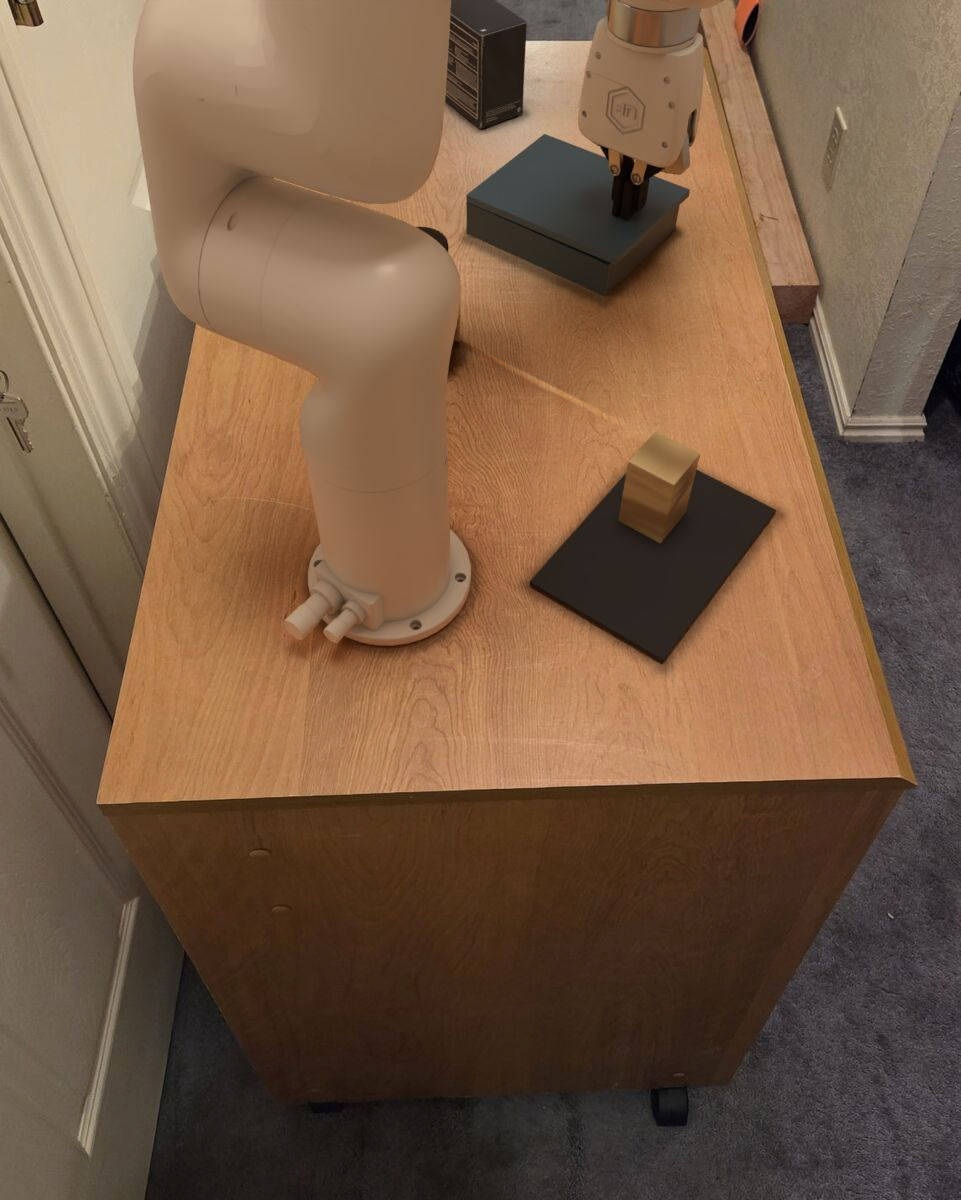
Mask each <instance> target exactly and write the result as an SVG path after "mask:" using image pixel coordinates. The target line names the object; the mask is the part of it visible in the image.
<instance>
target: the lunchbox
mask: <svg viewBox="0 0 961 1200" xmlns="http://www.w3.org/2000/svg"><path fill="white" fill-rule="evenodd" d="M680 205H681V204H680ZM680 205H679V206H678V207H677V208H676V209H675V210H674V211H673V212H672V213H671V214H670V215H669V216H668V217H666V218H665V219H664V220H663V221H662V222H661V223H660V224H659V225H658V226H657V227H656V228H655V229H654V230H653V231H652V232H651V233H649V234H648V235H647V236H646V237H645V238H644V239H643V240H642V241H641V242H640V243H639V244H638V245H637V246H636V247H635V248H634V249H632V250H631V251H630V252H629V253H628V254H627V255H626V256H625V257H624V258H623V259H622V260H621V261H620V262H619V263H618V264H617V265H614V264H612V263H610V262H607V261H605V260H602V259H600V258H598V257H595V256H593V255H591V254H588V253H586V252H584V251H581V250H579V249H577V248H574V247H572V246H570V245H567V244H565V243H562V242H560V241H558V240H555V239H553V238H551V237H548V236H546V235H544V234H541V233H539V232H537V231H534V230H532V229H530V228H527V227H525V226H522V225H520V224H518V223H515V222H513V221H511V220H508V219H506V218H504V217H501V216H499V215H497V214H494V213H492V212H490V211H487V210H485V209H482V208H480V207H478V206H475V205H473V204H471V203H468V202H467V201H466V209H465V210H466V234H467V235H469V236H471V237H473V238H476V239H477V240H480V241H482V242H484V243H486V244H489V245H491V246H493V247H495V248H498V249H500V250H502V251H503V252H506V253H508V254H510V255H513V256H515V257H517V258H519V259H521V260H524V261H526V262H528V263H531V264H532V265H535V266H537V267H539V268H541V269H544V270H545V271H548V272H550V273H552V274H554V275H556V276H559V277H561V278H562V279H565V280H568V281H570V282H572V283H574V284H576V285H579V286H581V287H583V288H584V289H587V290H589V291H591V292H594V293H596V294H598V295H600V296H603V297H605V296H607V295H608V293H610V292H611V291H612V289H614V288H615V287H616V286H617V285H618V284H619V283H620V282H621V281H622V280H623V279H624V278H625V277H626V276H627V275H628V274H629V273H630V272H631V271H633V269H635V268H636V267H637V266H638V264H640V263H641V262H642V261H643V260H644V259H645V258H646V257H647V256H648V255H649V254H650V253H651V252H652V251H653V250H654V249H655V248H657V247H658V245H660V243H662V242H663V241H664V240H665V239H666V238H667V237H668V236H669V235H670V234H671V233H673V231H674V230H675V229H676V228H677V223H678V217H679V211H680Z"/></svg>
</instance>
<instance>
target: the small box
mask: <svg viewBox="0 0 961 1200" xmlns="http://www.w3.org/2000/svg"><path fill="white" fill-rule="evenodd" d="M527 27H528V22H527V20H525V19H523V18H522V17H521V16H519V15H518V14H516V13H515V12H513V11H511V9H509V8H507V7H506V6H504V5H503V4H502V3H500V2H499V1H497V0H451V13H450V30H449V47H448V63H447V79H446V95H445V103H447V104H448V105H450V106H451V107H452V108H454V109H455V110H456V111H457V112H459V113H460V114H461V115H462V116H464V117H465V118H466V119H468V121H470V122H471V123H472V124H473V125H474V126H476V127H477V128H478V129H484V128H487V127H489V126H491V125H495V124H498V123H501V122H502V121H506V120H510V119H512V118H515V117H518V116H521V115H522V114H523V112H524V91H525V90H524V87H525V69H526V67H525V66H526V46H527V45H526V44H527Z"/></svg>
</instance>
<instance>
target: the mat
mask: <svg viewBox="0 0 961 1200" xmlns="http://www.w3.org/2000/svg"><path fill="white" fill-rule="evenodd" d="M626 473H627V471H626V472H625V473H624V475H623V476H622V477H621V478H620V479H619V480H618V481H617V482H616V484H615V485H614V486H613V487H612V488H611V489H610V490H609V492H608V493H607V494H605V496H604V497H603V498H602V499H601V500H600V502H599V503H598V504H597V505H596V506H595V507H594V508H593V509H592V511H591V512H590V513H589V514H588V515H587V516H586V517H585V519H583V521H582V522H581V523H580V524H579V525H578V527H577V528H576V529H574V531H573V532H572V533H571V534H570V536H569V537H567V538H566V540H565V541H564V542H563V543H562V544H561V546H560V547H558V549H557V550H556V551H555V552H554V553H553V554H552V555H551V556H550V558H549V559H548V560H547V562H545V563H544V565H543V566H542V567H541V568H540V569H539V571H537V573H536V574H534V576H533V577H532V578H531V579H530V580H529V587H531V588H532V589H534V590H536V591H537V592H539V593H541V594H542V595H544V596H546V597H547V598H549V599H551V600H552V601H554V602H556V603H557V604H559V605H561V606H562V607H564V608H566V609H568V610H570V611H572V612H573V613H575V614H577V615H578V616H580V617H582V618H583V619H585V620H586V621H588V622H590V623H593V625H596V626H597V627H599V628H600V629H602V630H604V631H605V632H607V633H609V634H610V635H613V636H614V637H616V638H618V639H619V640H621V641H622V642H624V643H626V644H628V645H629V646H631V647H632V648H634V649H636V650H637V651H640V652H641V653H642V654H645V655H646V656H648V657H649V658H651V659H653V660H655V661H656V662H658V663H660V664H664V663H665V661H666V660H667V659H668V657H669V656H670V654H671V653H672V652H673V651H674V649H675V648H676V646H677V645H678V644H679V643H680V642H681V640H682V639H683V637H684V636H685V635H686V633H687V632H688V631H689V629H690V628H691V627H692V626H693V624H694V623H695V621H696V620H697V619H698V617H699V616H700V615H701V613H702V612H703V611H704V609H705V608H706V607H707V606H708V604H709V603H710V601H711V600H712V598H714V596H715V595H716V593H717V592H718V590H719V589H720V588H721V587H722V585H723V584H724V583H725V581H726V580H727V579H728V577H729V576H730V575H731V574H732V572H733V571H734V569H735V568H736V567H737V565H738V564H739V563H740V561H741V560H742V559H743V558H744V556H745V554H746V553H748V551H749V550H750V548H751V547H752V545H753V544H754V543H755V541H756V540H757V539H758V538H759V536H760V535H761V534H762V532H764V529H765V528H766V527H767V526H768V525H769V523H770V521H771V520H772V519H773V518H774V516H775V515H776V512H777V509H776V508H773V507H771V506H770V505H767V504H765V503H764V502H762V501H760V500H758V499H756V498H754V497H752V496H750V495H748V494H746V493H744V492H742V491H740V490H738V489H736V488H734V487H732V486H730V485H729V484H727V483H724V482H722V481H720V480H718V479H716V478H715V477H712V476H710V475H709V474H706V473H705V472H703V471H701V470H698V468H697V469H696V473H695V477H694V481H693V485H692V489H691V493H690V497H689V501H688V505H687V509H686V513H685V514H684V515H683V517H682V518H681V519H680V520H679V522H678V523H677V524H676V525H675V526H674V528H673V529H672V530H671V531H670V533H669V534H668V535H667V536H666V537H665V539H664V540H663V541H662V542H661V543H658V542H657V541H655V540H653V539H651V538H649V537H647V536H645V535H644V534H642V533H640V532H638V531H636V530H634V529H633V528H631V527H629V526H627V525H625V524H623V523H621V522H620V521H618V519H619V513H620V508H621V502H622V496H623V490H624V485H625V479H626Z"/></svg>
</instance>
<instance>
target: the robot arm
mask: <svg viewBox="0 0 961 1200" xmlns="http://www.w3.org/2000/svg"><path fill="white" fill-rule="evenodd" d="M603 1H604V3H606V11H605V16H603V17H602V18H601V19H599V20H598V22H597V25H596V28H595V31H594V34H593V38H592V41H591V44H590V48H589V51H588V52H589V53H588V55H587V60H586V65H585V68H584V75H583V80H582V86H581V93H580V99H579V104H578V105H579V106H578V116H577V127H578V130H579V132H580V134H581V135H582V136H584V138H586V139H587V140H588V141H590V142H591V143H593V144H594V145H595V146H597V147H600V150H601V151H602V153H603V155H604V157H606V158H607V160H608V162H609V171H610V173H611V174H612V175H613V176H614V178H613V186H612V195H611V200H613V207H612V215H614V216H616V217H618V216H620V217H621V219H623V220H625V221H627V220H628V219H629V218H630V217H632V216H633V215H634V214H635V213H636V212H637V211H640V210H641V209H643V207H644V206H645V204H646V200H647V194H648V187H649V181H650V177H652V176H656V175H658V174H660V172H662V173H664V174H669V175H677V176H679V175H682V174H684V173H685V172H686V171H687V170H688V169H689V168H690V166H691V156H690V155H691V154H690V148H691V147H692V146H693V145H694V143H695V141H696V137H697V135H698V134H697V133H698V128H699V122H700V115H701V110H702V109H701V108H702V99H703V87H704V74H705V73H704V70H705V57H704V56H705V53H704V38H703V37H704V36H703V35H702V34H701V33H699V32H698V30H699V24H700V19H701V12H702V10H705V9H707V10H708V9H710V8H714V7H716V6H718V5H720V4H721V3H722V2H724V0H603ZM450 13H451V0H145V2H144V5H143V6H142V10H141V13H140V16H139V20H138V26H137V30H136V35H135V38H134V47H133V57H132V85H133V97H134V105H135V106H134V107H135V114H136V122H137V127H138V135H139V141H140V149H141V154H142V161H143V167H144V173H145V181H146V187H147V194H148V200H149V207H150V214H151V220H152V227H153V233H154V240H155V246H156V252H157V257H158V263H159V267H160V271H161V274H162V279H163V281H164V285H165V286H166V289H167V292H168V294H169V296H170V298H171V300H172V302H173V303H174V305H175V306H176V308H177V309H178V310H179V312H181V313H182V315H184V316H185V317H186V318H187V319H188V320H190V321H191V322H192V323H194V324H196V325H197V326H199V327H200V328H202V329H205V330H207V331H209V332H211V333H213V334H216V335H219V336H221V337H223V338H225V339H228V340H231V341H233V342H235V343H239V344H241V345H244V346H246V347H249V348H252V349H255V350H257V351H258V352H259V351H260V352H262V353H265V354H267V355H270V356H273V357H275V358H277V359H279V360H280V361H283V362H285V363H287V364H291V365H293V366H295V367H298V368H300V369H301V370H304V371H306V372H308V373H310V374H311V375H313V376H314V377H315V378H317V379H316V380H315V382H314V383H313V384H312V386H311V387H310V389H309V390H308V391H307V393H306V395H305V397H304V399H303V401H302V403H301V407H300V411H299V418H298V428H299V429H298V430H299V437H300V438H299V439H300V443H301V450H302V453H303V457H304V463H305V468H306V473H307V479H308V483H309V488H310V494H311V498H312V504H313V509H314V510H313V511H314V514H315V519H316V526H317V530H318V536H319V541H320V542H319V544H318V545H317V546H316V548H315V550H314V552H313V554H312V556H311V559H310V561H309V565H308V570H307V586H308V591H309V595H310V596H309V597H308V598H307V599H306V600H305V601H304V602H303V603H302V604H299V605H298V606H297V608H295V609H294V610H293V611H292V612H291V613H290V614H289V615H288V616H287V617H286V618H285V619H284V620H283V622H282V623H283V626H284V629H286V631H287V632H288V633H289V634H290V635H291V636H292V637H294V639H297V640H299V641H303V640H304V639H305V638H306V637H307V636H308V635H309V634H310V633H311V632H312V631H313V630H314V629H315V628H316V627H317V626H318V625H319V624H320V622H321V620H322V621H324V622H325V623H326V624H327V625H326V627H324V629H323V630H322V633H323V635H324V637H325V638H326V639H327V640H328V641H329V642H331V643H333V644H339V642H340V641H341V640H342V639H343V638H344V637H345V638H348V639H351V640H352V641H356V642H359V643H361V644H367V645H372V646H389V647H393V646H401V645H406V644H410V643H414V642H418V641H420V640H424V639H426V638H429V637H430V636H433V635H435V634H436V633H438V632H439V631H440V630H442V629H444V628H445V627H446V626H447V625H449V624H450V623H451V622H452V621H453V620H454V619H455V617H457V615H458V614H459V613H460V612H461V611H462V609H463V607H464V605H465V603H466V602H467V599H468V596H469V594H470V590H471V584H472V564H471V560H470V556H469V552H468V550H467V549H466V547H465V545H464V543H463V541H462V540H461V539H460V537H459V536H458V534H456V533H455V532H454V530H453V529H451V522H450V521H451V519H450V518H451V517H450V485H449V484H450V483H449V453H448V452H449V451H448V450H449V449H448V431H447V429H448V428H447V425H448V424H447V392H448V376H449V370H450V369H449V361H450V355H451V350H452V345H453V340H454V335H455V330H456V325H457V320H458V315H459V308H460V309H461V291H462V290H461V288H462V286H461V277H460V278H459V276H460V273H459V271H458V268H457V265H456V263H455V261H454V259H453V258H452V256H451V255H450V253H449V251H448V252H447V251H446V249H445V248H444V247H443V246H442V245H441V244H440V243H439V242H437V241H436V240H435V239H434V238H432V237H431V236H430V235H428V234H427V233H425V232H424V231H422V230H420V229H419V228H416V227H417V226H414V225H412V224H410V223H408V222H406V221H404V220H402V219H399V218H397V217H394V216H391V215H389V214H386V213H383V212H381V211H377V210H375V209H372V208H369V207H365V206H363V205H360V204H356V203H362V204H368V205H370V204H372V205H390V204H395V203H396V204H397V203H398V202H402V201H404V200H407V199H409V198H411V197H412V196H414V195H415V194H416V193H417V192H418V191H420V190H421V189H422V188H423V187H424V186H425V184H426V183H427V181H428V180H429V178H430V176H431V174H432V172H433V170H434V167H435V164H436V162H437V158H438V155H439V152H440V148H441V141H442V133H443V128H444V118H445V108H446V107H445V106H446V101H445V95H446V79H447V63H448V47H449V30H450ZM353 202H355V203H353ZM448 369H449V370H448Z"/></svg>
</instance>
